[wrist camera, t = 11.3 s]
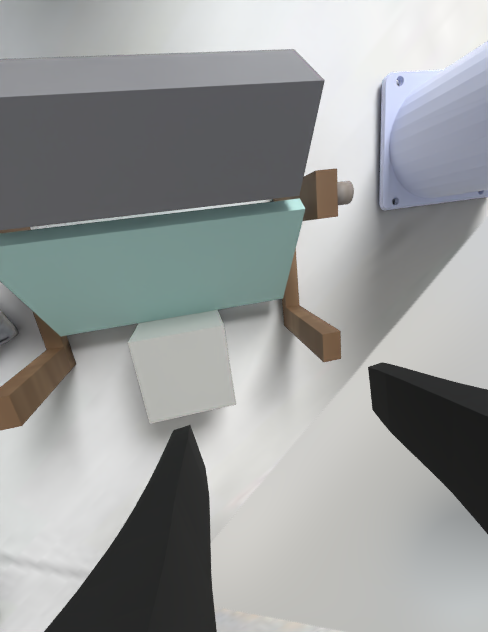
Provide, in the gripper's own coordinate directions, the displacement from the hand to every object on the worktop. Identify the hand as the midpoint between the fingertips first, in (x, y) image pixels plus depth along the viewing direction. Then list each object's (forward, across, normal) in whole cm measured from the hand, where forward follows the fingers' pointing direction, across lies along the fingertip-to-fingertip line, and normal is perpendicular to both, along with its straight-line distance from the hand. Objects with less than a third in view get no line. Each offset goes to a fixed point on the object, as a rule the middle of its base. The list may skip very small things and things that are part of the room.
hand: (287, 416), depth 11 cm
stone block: (+8, +4, -3) cm, 9 cm away
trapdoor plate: (+7, +3, -9) cm, 12 cm away
